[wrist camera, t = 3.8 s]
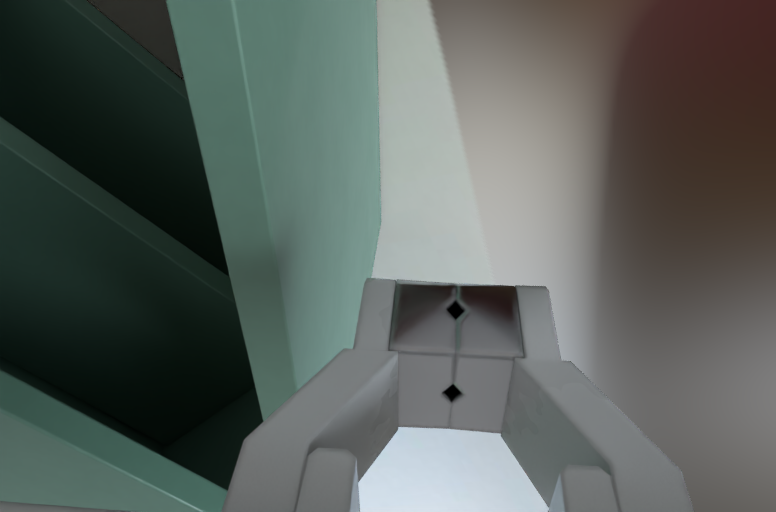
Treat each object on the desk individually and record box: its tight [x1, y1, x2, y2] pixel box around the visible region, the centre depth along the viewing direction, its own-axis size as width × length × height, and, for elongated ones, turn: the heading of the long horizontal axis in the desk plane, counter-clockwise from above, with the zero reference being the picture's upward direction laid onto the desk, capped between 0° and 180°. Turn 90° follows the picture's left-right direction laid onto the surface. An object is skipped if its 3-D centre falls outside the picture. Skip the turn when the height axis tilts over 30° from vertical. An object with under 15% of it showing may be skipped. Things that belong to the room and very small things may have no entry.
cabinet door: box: [166, 0, 381, 422], centre depth 19 cm, size 5×20×17 cm, turn 1°
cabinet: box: [0, 0, 263, 512], centre depth 25 cm, size 13×20×17 cm, turn 46°
